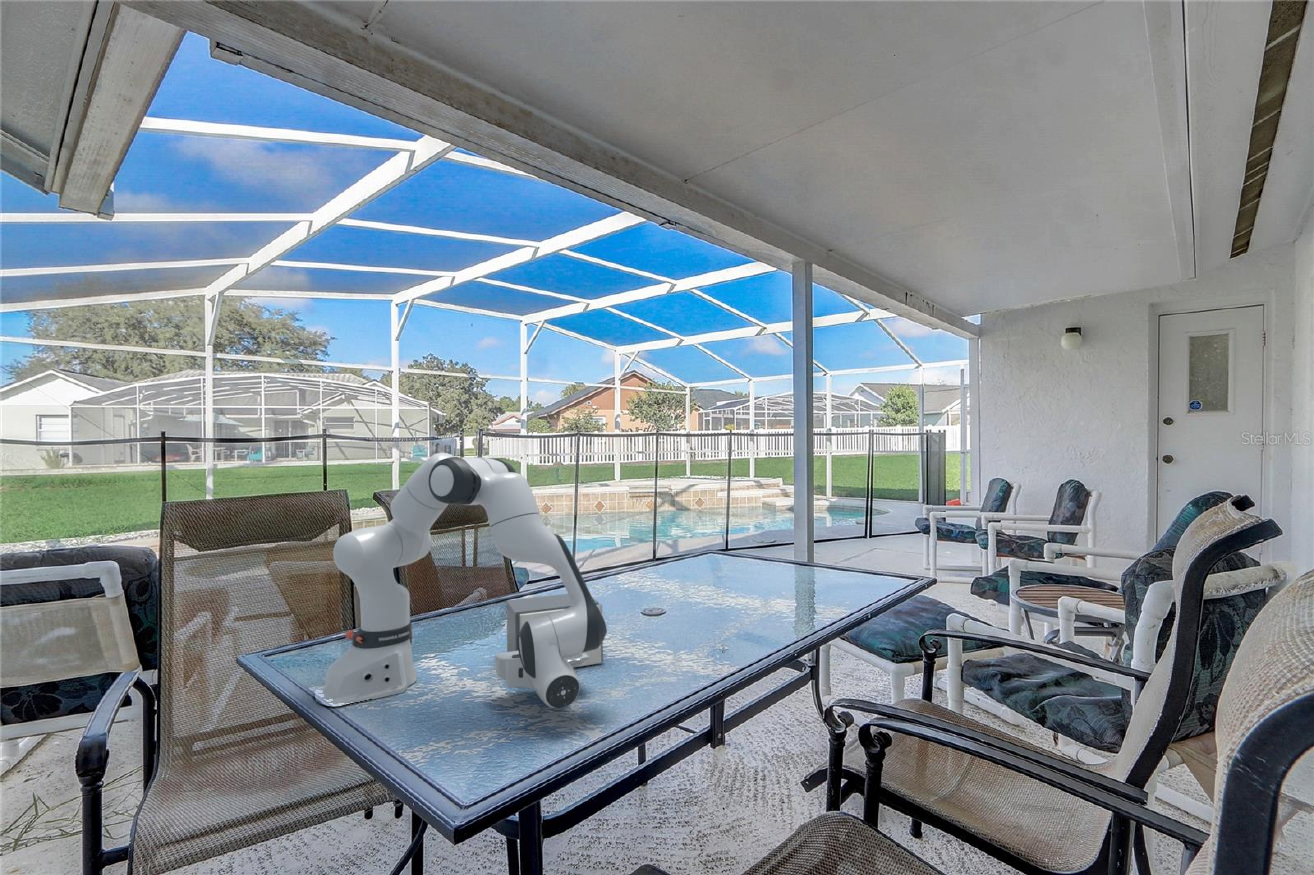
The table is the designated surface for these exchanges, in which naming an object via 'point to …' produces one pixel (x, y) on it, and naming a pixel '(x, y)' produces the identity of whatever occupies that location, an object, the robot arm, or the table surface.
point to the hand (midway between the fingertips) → (533, 649)
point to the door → (593, 655)
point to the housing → (530, 607)
